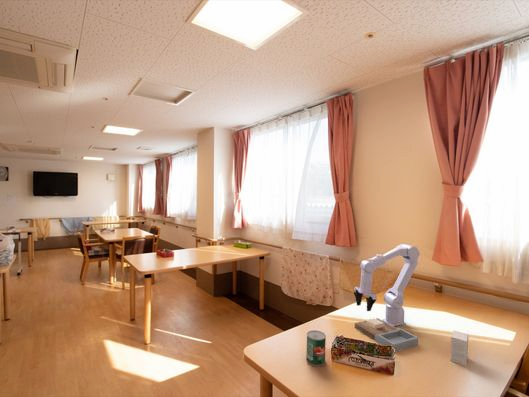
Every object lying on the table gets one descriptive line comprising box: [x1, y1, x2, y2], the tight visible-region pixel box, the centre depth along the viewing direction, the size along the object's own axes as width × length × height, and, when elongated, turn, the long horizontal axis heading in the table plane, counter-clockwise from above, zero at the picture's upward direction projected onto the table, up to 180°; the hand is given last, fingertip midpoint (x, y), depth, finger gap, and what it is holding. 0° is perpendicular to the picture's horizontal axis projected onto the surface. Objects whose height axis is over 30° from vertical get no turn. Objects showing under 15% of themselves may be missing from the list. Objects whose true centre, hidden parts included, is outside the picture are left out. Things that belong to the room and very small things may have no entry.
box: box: [374, 328, 419, 353], centre depth 136 cm, size 16×11×4 cm
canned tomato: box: [305, 330, 327, 367], centre depth 120 cm, size 8×8×11 cm
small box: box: [450, 330, 469, 367], centre depth 123 cm, size 8×6×10 cm
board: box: [354, 318, 400, 341], centre depth 148 cm, size 16×14×2 cm
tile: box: [365, 317, 384, 329], centre depth 149 cm, size 6×6×2 cm
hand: (363, 307), depth 155 cm, fingers open, 7 cm apart
